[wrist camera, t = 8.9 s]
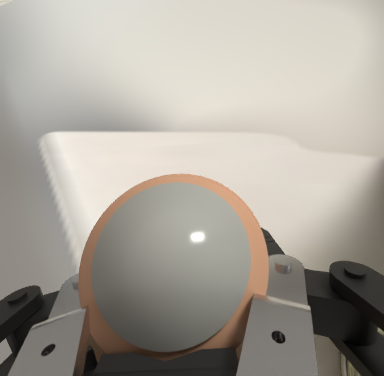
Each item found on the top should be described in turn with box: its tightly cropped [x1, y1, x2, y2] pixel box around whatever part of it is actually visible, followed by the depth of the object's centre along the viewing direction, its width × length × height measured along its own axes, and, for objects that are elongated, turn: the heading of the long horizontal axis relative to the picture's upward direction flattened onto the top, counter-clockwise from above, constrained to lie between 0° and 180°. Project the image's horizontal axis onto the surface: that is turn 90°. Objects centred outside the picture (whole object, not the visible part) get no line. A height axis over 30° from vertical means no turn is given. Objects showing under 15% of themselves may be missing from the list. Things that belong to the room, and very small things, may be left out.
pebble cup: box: [78, 174, 269, 361], centre depth 10 cm, size 6×6×10 cm
